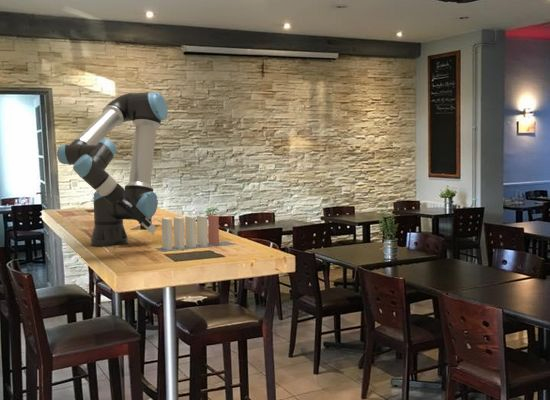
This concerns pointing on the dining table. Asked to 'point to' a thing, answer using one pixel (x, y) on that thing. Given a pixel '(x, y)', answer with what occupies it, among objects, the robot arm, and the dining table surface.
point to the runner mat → (196, 246)
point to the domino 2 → (179, 232)
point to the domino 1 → (167, 233)
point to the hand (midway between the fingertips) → (154, 231)
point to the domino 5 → (213, 229)
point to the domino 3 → (190, 231)
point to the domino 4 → (202, 231)
